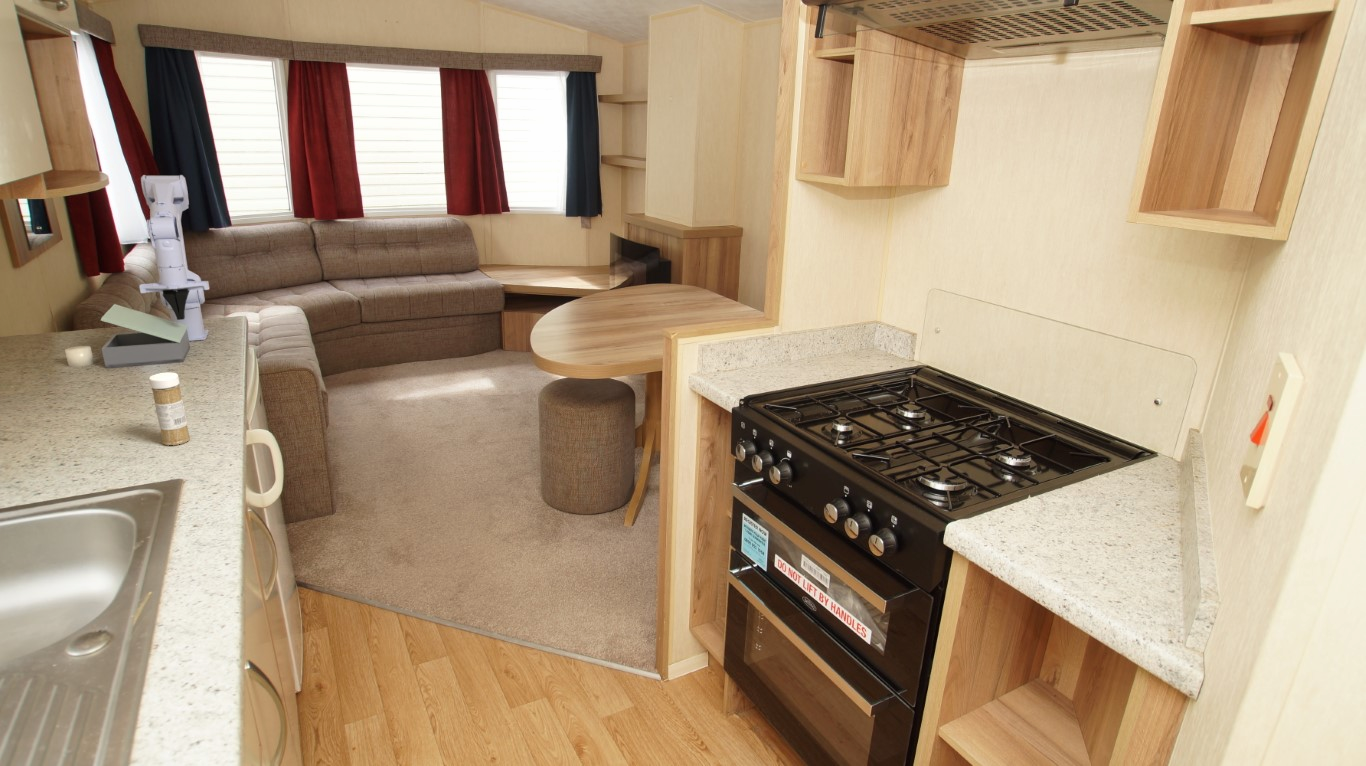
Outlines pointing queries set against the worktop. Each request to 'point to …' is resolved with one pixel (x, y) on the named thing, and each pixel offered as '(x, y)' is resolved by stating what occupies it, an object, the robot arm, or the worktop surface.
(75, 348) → the cream rounded cup
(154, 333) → the lid
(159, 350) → the box
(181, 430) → the sprinkles bottle
